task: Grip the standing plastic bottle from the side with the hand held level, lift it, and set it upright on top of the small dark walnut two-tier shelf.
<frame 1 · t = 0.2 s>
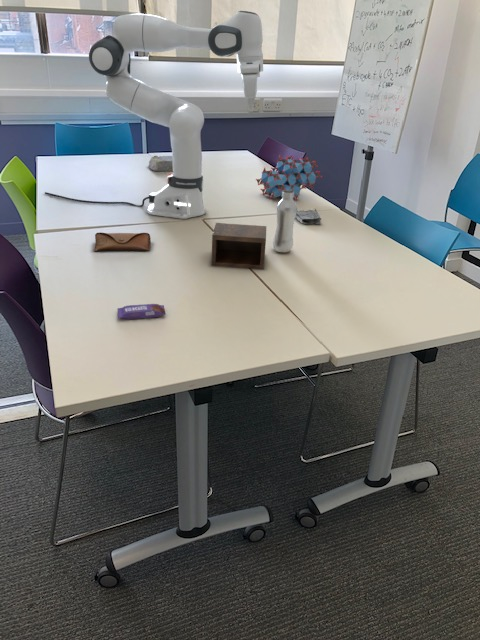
hand: (251, 109, 177), 39 cm above the table, tool pointing down, fingers open, 8 cm apart
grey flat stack: (306, 220, 196), on the table
snack package: (141, 315, 125), on the table
shelf: (238, 260, 157), on the table
sunglasses case: (123, 247, 162), on the table
plastic bottle: (282, 251, 166), on the table
molecule model: (286, 197, 222), on the table
geological specimen: (164, 169, 257), on the table
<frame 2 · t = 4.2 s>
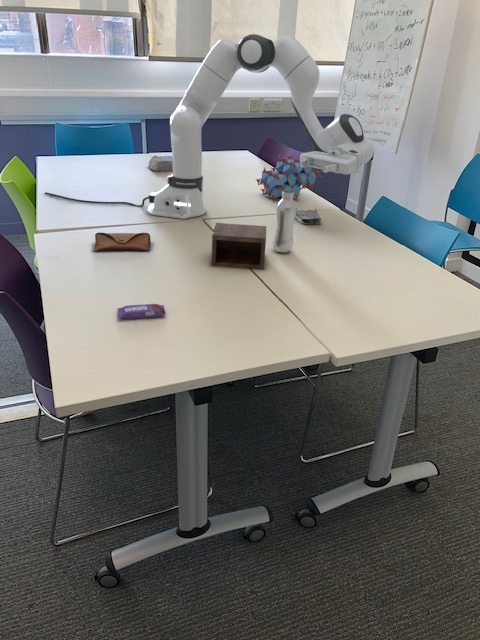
hand: (312, 167, 161), 26 cm above the table, tool horizontal, fingers open, 8 cm apart
nothing on the table moved.
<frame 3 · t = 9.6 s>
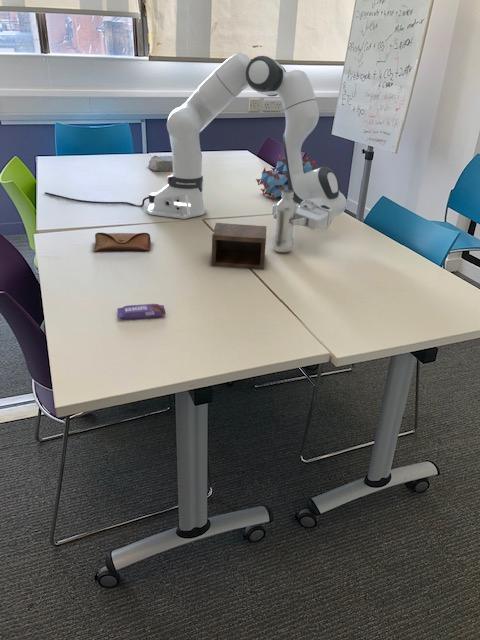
hand: (283, 219, 160), 11 cm above the table, tool horizontal, fingers closed on plastic bottle, 6 cm apart
plastic bottle: (282, 251, 166), on the table, touching gripper
everything else where it was.
when the fingers open (21 cm above the table, at t = 18.9 s): plastic bottle stays where it is, resting on shelf.
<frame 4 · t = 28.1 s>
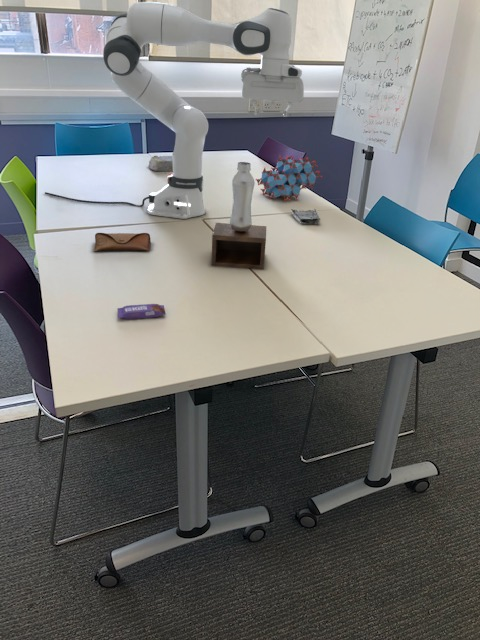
hand: (270, 115, 165), 39 cm above the table, tool pointing down, fingers open, 8 cm apart
plastic bottle: (240, 230, 152), point 10 cm above the table, touching shelf
everything else where it was.
at the end: plastic bottle inside the target area on the shelf (0.1 cm from its centre), point 9.8 cm above the shelf's base; plastic bottle tilted 0°; the gripper is holding nothing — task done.
